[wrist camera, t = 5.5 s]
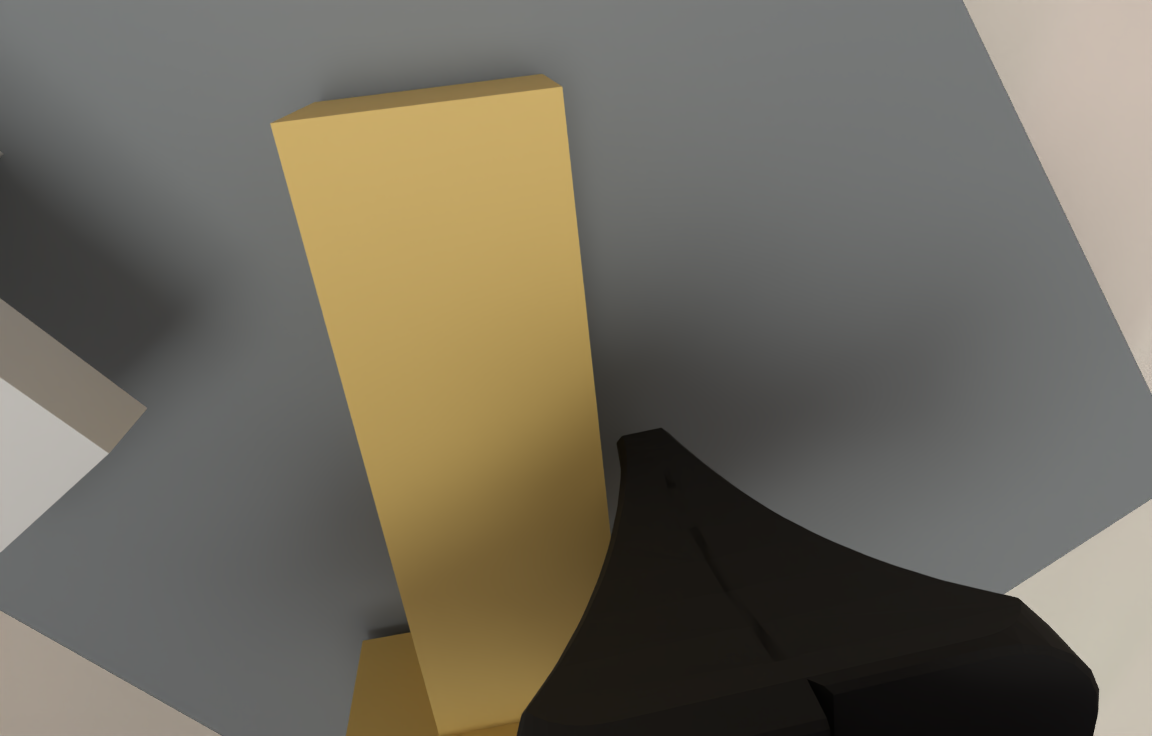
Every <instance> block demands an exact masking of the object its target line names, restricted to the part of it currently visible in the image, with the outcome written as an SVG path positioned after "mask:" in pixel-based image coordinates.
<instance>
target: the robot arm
mask: <svg viewBox="0 0 1152 736" xmlns="http://www.w3.org/2000/svg"><path fill="white" fill-rule="evenodd" d="M616 444H617V450H618V456H619V462H620V468H621V475H620V488H619V496H618V505H617V511H616V516H615V520H614V525H613V529H612V534H611V539H610V543H609V546H608V550H607V553H606V557H605V560H604V563H603V566H602V569H601V572H600V575H599V578H598V580H597V583H596V585H595V588H594V590H593V593H592V595H591V597H590V600H589V602H588V605H587V607H586V609H585V611H584V614H583V616H582V618H581V620H580V622H579V624H578V626H577V628H576V630H575V631H574V633H573V635H572V637H571V639H570V640H569V642H568V644H567V646H566V648H565V649H564V651H563V653H562V655H561V657H560V658H559V660H558V662H557V664H556V665H555V667H554V668H553V670H552V672H551V673H550V674H549V676H548V677H547V679H546V680H545V682H544V683H543V684H542V686H541V687H540V689H539V690H538V692H537V693H536V694H535V696H534V697H533V699H532V700H531V702H530V703H529V704H528V706H527V707H526V709H525V710H524V711H523V713H522V715H521V719H520V723H519V727H518V731H517V736H1093V734H1094V729H1095V724H1096V720H1097V715H1098V702H1099V688H1098V685H1097V683H1096V681H1095V678H1094V676H1093V673H1092V671H1091V669H1090V668H1089V667H1088V666H1087V665H1086V664H1085V663H1084V662H1083V661H1082V660H1081V659H1080V658H1079V657H1078V656H1077V655H1076V654H1075V653H1074V652H1073V650H1072V649H1071V648H1070V647H1069V646H1068V645H1067V644H1066V643H1065V642H1064V641H1063V640H1062V639H1061V638H1060V637H1059V635H1058V634H1057V633H1056V632H1055V631H1054V630H1053V629H1052V628H1051V627H1050V626H1049V625H1048V624H1047V623H1046V622H1044V621H1043V620H1042V619H1041V618H1040V617H1039V616H1038V615H1037V614H1035V613H1034V612H1033V611H1032V610H1031V609H1030V608H1029V607H1028V606H1027V605H1026V604H1024V603H1023V602H1022V601H1021V600H1020V599H1019V598H1016V597H1012V596H1008V595H1003V594H999V593H995V592H991V591H986V590H982V589H978V588H974V587H969V586H965V585H961V584H957V583H952V582H948V581H944V580H941V579H937V578H934V577H931V576H927V575H924V574H921V573H918V572H914V571H911V570H908V569H905V568H901V567H898V566H895V565H892V564H890V563H887V562H884V561H881V560H878V559H875V558H873V557H870V556H867V555H865V554H862V553H860V552H858V551H855V550H853V549H850V548H848V547H845V546H843V545H840V544H838V543H835V542H833V541H831V540H829V539H826V538H824V537H822V536H820V535H818V534H816V533H813V532H812V531H810V530H808V529H806V528H804V527H802V526H800V525H798V524H796V523H794V522H792V521H790V520H788V519H786V518H784V517H782V516H781V515H779V514H777V513H775V512H774V511H772V510H770V509H769V508H767V507H765V506H764V505H762V504H761V503H759V502H758V501H756V500H755V499H753V498H751V497H750V496H748V495H747V494H745V493H744V492H743V491H741V490H740V489H738V488H737V487H735V486H734V485H733V484H731V483H730V482H729V481H727V480H726V479H724V478H723V477H722V476H720V475H719V474H718V473H716V472H715V471H714V470H712V469H711V468H710V467H709V466H707V465H706V464H705V463H703V462H702V461H701V460H700V459H699V458H697V457H696V456H695V455H694V454H692V453H691V452H690V451H689V450H688V449H687V448H685V447H684V446H683V445H682V444H681V443H680V442H679V441H677V440H676V439H675V438H674V437H673V436H672V435H671V434H670V433H668V432H667V431H666V430H664V429H663V428H657V429H652V430H647V431H643V432H638V433H633V434H628V435H624V436H621V438H620V439H619V440H618V441H617V443H616Z"/></svg>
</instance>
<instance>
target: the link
mask: <svg viewBox="0 0 1152 736" xmlns="http://www.w3.org/2000/svg"><path fill="white" fill-rule="evenodd" d="M270 125H271V128H272V132H273V136H274V139H275V143H276V146H277V150H278V154H279V157H280V161H281V165H282V168H283V172H284V175H285V179H286V183H287V186H288V190H289V193H290V197H291V201H292V204H293V208H294V212H295V215H296V219H297V222H298V226H299V230H300V233H301V237H302V241H303V244H304V248H305V251H306V255H307V259H308V262H309V266H310V270H311V273H312V277H313V280H314V284H315V288H316V291H317V295H318V298H319V302H320V306H321V309H322V313H323V317H324V320H325V324H326V327H327V331H328V335H329V338H330V342H331V346H332V349H333V353H334V356H335V360H336V364H337V367H338V371H339V375H340V378H341V382H342V385H343V389H344V393H345V396H346V400H347V403H348V407H349V411H350V414H351V418H352V422H353V425H354V429H355V432H356V436H357V440H358V443H359V447H360V451H361V454H362V458H363V461H364V465H365V469H366V472H367V476H368V480H369V483H370V487H371V490H372V494H373V498H374V501H375V505H376V508H377V512H378V516H379V519H380V523H381V527H382V530H383V534H384V537H385V541H386V545H387V548H388V552H389V556H390V559H391V563H392V566H393V570H394V574H395V577H396V581H397V585H398V588H399V592H400V595H401V599H402V603H403V606H404V610H405V613H406V617H407V621H408V624H409V628H410V632H409V633H403V634H398V635H392V636H386V637H381V638H375V639H370V640H364V641H363V642H362V647H361V653H360V659H359V664H358V670H357V676H356V681H355V687H354V693H353V698H352V704H351V710H350V715H349V721H348V727H347V732H346V736H517V731H518V727H519V723H520V719H521V715H522V713H523V711H524V710H525V709H526V707H527V706H528V704H529V703H530V702H531V700H532V699H533V697H534V696H535V694H536V693H537V692H538V690H539V689H540V687H541V686H542V684H543V683H544V682H545V680H546V679H547V677H548V676H549V674H550V673H551V672H552V670H553V668H554V667H555V665H556V664H557V662H558V660H559V658H560V657H561V655H562V653H563V651H564V649H565V648H566V646H567V644H568V642H569V640H570V639H571V637H572V635H573V633H574V631H575V630H576V628H577V626H578V624H579V622H580V620H581V618H582V616H583V614H584V611H585V609H586V607H587V605H588V602H589V600H590V597H591V595H592V593H593V590H594V588H595V585H596V583H597V580H598V578H599V575H600V572H601V569H602V566H603V563H604V560H605V557H606V553H607V550H608V546H609V543H610V539H611V534H610V524H609V515H608V506H607V497H606V487H605V478H604V469H603V459H602V450H601V441H600V432H599V422H598V413H597V404H596V394H595V385H594V376H593V367H592V357H591V348H590V339H589V330H588V320H587V311H586V302H585V292H584V283H583V274H582V265H581V255H580V246H579V237H578V227H577V218H576V209H575V200H574V190H573V181H572V172H571V162H570V153H569V144H568V135H567V125H566V116H565V107H564V97H563V88H562V86H561V85H559V84H557V83H556V82H554V81H553V80H551V79H550V78H548V77H547V76H545V75H544V74H537V75H529V76H521V77H513V78H505V79H497V80H489V81H481V82H473V83H464V84H456V85H448V86H440V87H432V88H424V89H416V90H408V91H400V92H392V93H384V94H376V95H368V96H360V97H352V98H344V99H336V100H328V101H319V102H314V103H312V104H310V105H307V106H305V107H303V108H301V109H299V110H297V111H295V112H293V113H291V114H289V115H287V116H284V117H282V118H280V119H278V120H276V121H274V122H272V123H270Z"/></svg>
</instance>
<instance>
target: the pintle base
mask: <svg viewBox="0 0 1152 736" xmlns="http://www.w3.org/2000/svg"><path fill="white" fill-rule="evenodd" d="M537 74H544V75H545V76H547V77H548V78H550V79H551V80H553V81H554V82H556V83H557V84H559V85H561V86H562V88H563V97H564V107H565V116H566V125H567V135H568V144H569V153H570V162H571V172H572V181H573V190H574V200H575V209H576V218H577V227H578V237H579V246H580V255H581V265H582V274H583V283H584V292H585V302H586V311H587V320H588V330H589V339H590V348H591V357H592V367H593V376H594V385H595V394H596V404H597V413H598V422H599V432H600V441H601V450H602V459H603V469H604V478H605V487H606V497H607V506H608V515H609V524H610V534H612V529H613V525H614V520H615V516H616V511H617V505H618V496H619V488H620V475H621V468H620V462H619V456H618V450H617V444H616V443H617V441H618V440H619V439H620V438H621V436H624V435H628V434H633V433H638V432H643V431H647V430H652V429H657V428H663V429H664V430H666V431H667V432H668V433H670V434H671V435H672V436H673V437H674V438H675V439H676V440H677V441H679V442H680V443H681V444H682V445H683V446H684V447H685V448H687V449H688V450H689V451H690V452H691V453H692V454H694V455H695V456H696V457H697V458H699V459H700V460H701V461H702V462H703V463H705V464H706V465H707V466H709V467H710V468H711V469H712V470H714V471H715V472H716V473H718V474H719V475H720V476H722V477H723V478H724V479H726V480H727V481H729V482H730V483H731V484H733V485H734V486H735V487H737V488H738V489H740V490H741V491H743V492H744V493H745V494H747V495H748V496H750V497H751V498H753V499H755V500H756V501H758V502H759V503H761V504H762V505H764V506H765V507H767V508H769V509H770V510H772V511H774V512H775V513H777V514H779V515H781V516H782V517H784V518H786V519H788V520H790V521H792V522H794V523H796V524H798V525H800V526H802V527H804V528H806V529H808V530H810V531H812V532H813V533H816V534H818V535H820V536H822V537H824V538H826V539H829V540H831V541H833V542H835V543H838V544H840V545H843V546H845V547H848V548H850V549H853V550H855V551H858V552H860V553H862V554H865V555H867V556H870V557H873V558H875V559H878V560H881V561H884V562H887V563H890V564H892V565H895V566H898V567H901V568H905V569H908V570H911V571H914V572H918V573H921V574H924V575H927V576H931V577H934V578H937V579H941V580H944V581H948V582H952V583H957V584H961V585H965V586H969V587H974V588H978V589H982V590H986V591H991V592H995V593H999V594H1005V593H1006V592H1008V591H1010V590H1011V589H1013V588H1014V587H1016V586H1017V585H1019V584H1020V583H1022V582H1023V581H1025V580H1027V579H1028V578H1030V577H1031V576H1033V575H1034V574H1036V573H1037V572H1039V571H1041V570H1042V569H1044V568H1045V567H1047V566H1048V565H1050V564H1051V563H1053V562H1054V561H1056V560H1058V559H1059V558H1061V557H1062V556H1064V555H1065V554H1067V553H1068V552H1070V551H1071V550H1073V549H1075V548H1076V547H1078V546H1079V545H1081V544H1082V543H1084V542H1085V541H1087V540H1089V539H1090V538H1092V537H1093V536H1095V535H1096V534H1098V533H1099V532H1101V531H1102V530H1104V529H1106V528H1107V527H1109V526H1110V525H1112V524H1113V523H1115V522H1116V521H1118V520H1119V519H1121V518H1123V517H1124V516H1126V515H1127V514H1129V513H1130V512H1132V511H1133V510H1135V509H1137V508H1138V507H1140V506H1141V505H1143V504H1144V503H1146V502H1147V501H1149V500H1150V499H1152V394H1151V392H1150V390H1149V388H1148V386H1147V384H1146V382H1145V380H1144V377H1143V375H1142V373H1141V371H1140V369H1139V367H1138V365H1137V363H1136V361H1135V359H1134V357H1133V355H1132V352H1131V350H1130V348H1129V346H1128V344H1127V342H1126V340H1125V338H1124V336H1123V334H1122V332H1121V330H1120V327H1119V325H1118V323H1117V321H1116V319H1115V317H1114V315H1113V313H1112V311H1111V309H1110V307H1109V305H1108V302H1107V300H1106V298H1105V296H1104V294H1103V292H1102V290H1101V288H1100V286H1099V284H1098V282H1097V280H1096V277H1095V275H1094V273H1093V271H1092V269H1091V267H1090V265H1089V263H1088V261H1087V259H1086V257H1085V255H1084V252H1083V250H1082V248H1081V246H1080V244H1079V242H1078V240H1077V238H1076V236H1075V234H1074V232H1073V230H1072V227H1071V225H1070V223H1069V221H1068V219H1067V217H1066V215H1065V213H1064V211H1063V209H1062V207H1061V205H1060V202H1059V200H1058V198H1057V196H1056V194H1055V192H1054V190H1053V188H1052V186H1051V184H1050V182H1049V179H1048V177H1047V175H1046V173H1045V171H1044V169H1043V167H1042V165H1041V163H1040V161H1039V159H1038V157H1037V154H1036V152H1035V150H1034V148H1033V146H1032V144H1031V142H1030V140H1029V138H1028V136H1027V134H1026V132H1025V129H1024V127H1023V125H1022V123H1021V121H1020V119H1019V117H1018V115H1017V113H1016V111H1015V109H1014V107H1013V104H1012V102H1011V100H1010V98H1009V96H1008V94H1007V92H1006V90H1005V88H1004V86H1003V84H1002V82H1001V79H1000V77H999V75H998V73H997V71H996V69H995V67H994V65H993V63H992V61H991V59H990V57H989V54H988V52H987V50H986V48H985V46H984V44H983V42H982V40H981V38H980V36H979V34H978V32H977V29H976V27H975V25H974V23H973V21H972V19H971V17H970V15H969V13H968V11H967V9H966V7H965V4H964V2H963V0H0V611H2V612H4V613H6V614H8V615H9V616H11V617H13V618H15V619H16V620H18V621H20V622H22V623H23V624H25V625H27V626H29V627H31V628H32V629H34V630H36V631H38V632H39V633H41V634H43V635H45V636H46V637H48V638H50V639H52V640H54V641H55V642H57V643H59V644H61V645H62V646H64V647H66V648H68V649H70V650H71V651H73V652H75V653H77V654H78V655H80V656H82V657H84V658H85V659H87V660H89V661H91V662H93V663H94V664H96V665H98V666H100V667H101V668H103V669H105V670H107V671H108V672H110V673H112V674H114V675H116V676H117V677H119V678H121V679H123V680H124V681H126V682H128V683H130V684H131V685H133V686H135V687H137V688H139V689H140V690H142V691H144V692H146V693H147V694H149V695H151V696H153V697H154V698H156V699H158V700H160V701H162V702H163V703H165V704H167V705H169V706H170V707H172V708H174V709H176V710H178V711H179V712H181V713H183V714H185V715H186V716H188V717H190V718H192V719H193V720H195V721H197V722H199V723H201V724H202V725H204V726H206V727H208V728H209V729H211V730H213V731H215V732H216V733H218V734H220V735H222V736H346V732H347V727H348V721H349V715H350V710H351V704H352V698H353V693H354V687H355V681H356V676H357V670H358V664H359V659H360V653H361V647H362V642H363V641H364V640H370V639H375V638H381V637H386V636H392V635H398V634H403V633H409V632H410V628H409V624H408V621H407V617H406V613H405V610H404V606H403V603H402V599H401V595H400V592H399V588H398V585H397V581H396V577H395V574H394V570H393V566H392V563H391V559H390V556H389V552H388V548H387V545H386V541H385V537H384V534H383V530H382V527H381V523H380V519H379V516H378V512H377V508H376V505H375V501H374V498H373V494H372V490H371V487H370V483H369V480H368V476H367V472H366V469H365V465H364V461H363V458H362V454H361V451H360V447H359V443H358V440H357V436H356V432H355V429H354V425H353V422H352V418H351V414H350V411H349V407H348V403H347V400H346V396H345V393H344V389H343V385H342V382H341V378H340V375H339V371H338V367H337V364H336V360H335V356H334V353H333V349H332V346H331V342H330V338H329V335H328V331H327V327H326V324H325V320H324V317H323V313H322V309H321V306H320V302H319V298H318V295H317V291H316V288H315V284H314V280H313V277H312V273H311V270H310V266H309V262H308V259H307V255H306V251H305V248H304V244H303V241H302V237H301V233H300V230H299V226H298V222H297V219H296V215H295V212H294V208H293V204H292V201H291V197H290V193H289V190H288V186H287V183H286V179H285V175H284V172H283V168H282V165H281V161H280V157H279V154H278V150H277V146H276V143H275V139H274V136H273V132H272V128H271V125H270V123H272V122H274V121H276V120H278V119H280V118H282V117H284V116H287V115H289V114H291V113H293V112H295V111H297V110H299V109H301V108H303V107H305V106H307V105H310V104H312V103H314V102H319V101H328V100H336V99H344V98H352V97H360V96H368V95H376V94H384V93H392V92H400V91H408V90H416V89H424V88H432V87H440V86H448V85H456V84H464V83H473V82H481V81H489V80H497V79H505V78H513V77H521V76H529V75H537Z"/></svg>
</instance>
